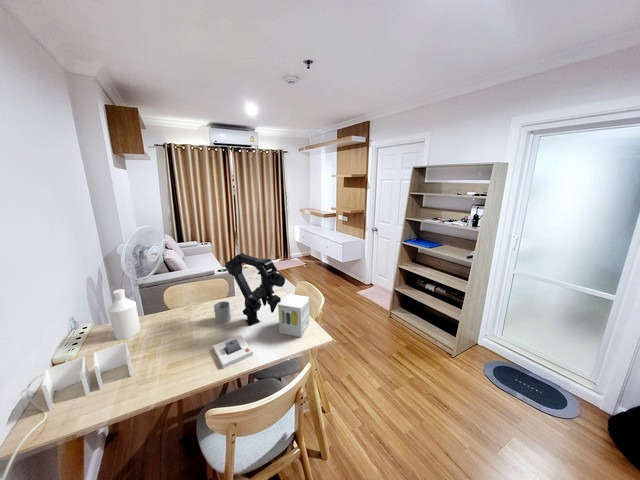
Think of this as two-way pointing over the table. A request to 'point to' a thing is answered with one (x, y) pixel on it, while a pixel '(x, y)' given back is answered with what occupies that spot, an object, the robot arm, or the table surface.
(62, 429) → the table surface
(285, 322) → the supplement box
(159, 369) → the table surface
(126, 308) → the bottle
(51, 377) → the white u-channel brackets
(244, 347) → the socket plate
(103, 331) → the table surface
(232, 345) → the plug
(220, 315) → the cup
